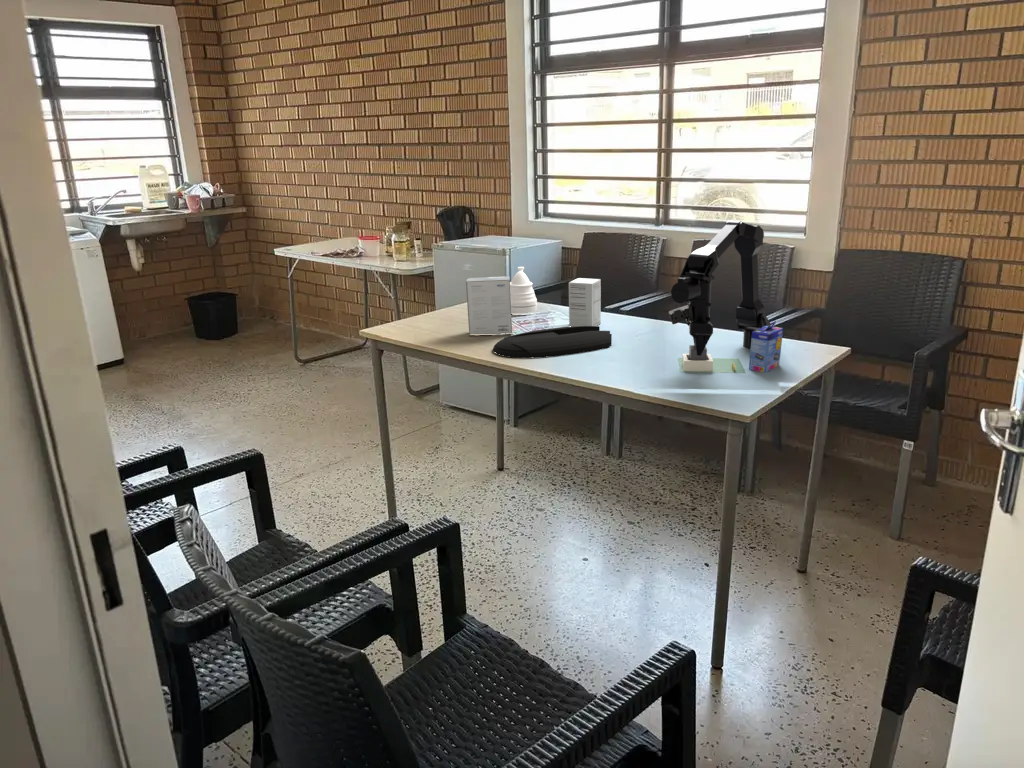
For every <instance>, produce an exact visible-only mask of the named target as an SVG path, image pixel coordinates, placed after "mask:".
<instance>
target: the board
mask: <svg viewBox="0 0 1024 768" xmlns="http://www.w3.org/2000/svg"><path fill="white" fill-rule="evenodd" d="M712 359H713V371H684V369H683V364H682V357H677V362H678V366H679V371H680V373H704V374H705V373H706V374H707V373H709V374H710V373H713V374H715V373H716V374H717V373H720V374H729V373H730V374H746V373H747V371H746V370H745V367H744V366H743V364H742V362H741V360H740V358H737V357H736V358H735V357H734V358H730V357H728V358H727V357H726V358H724V357H723V358H721V357H719V358H717V357H716V358H715V357H712Z"/></svg>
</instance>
